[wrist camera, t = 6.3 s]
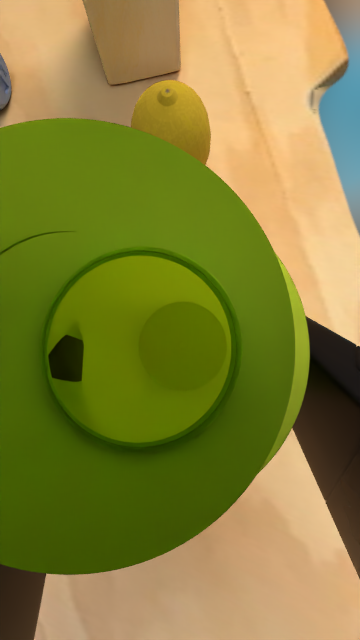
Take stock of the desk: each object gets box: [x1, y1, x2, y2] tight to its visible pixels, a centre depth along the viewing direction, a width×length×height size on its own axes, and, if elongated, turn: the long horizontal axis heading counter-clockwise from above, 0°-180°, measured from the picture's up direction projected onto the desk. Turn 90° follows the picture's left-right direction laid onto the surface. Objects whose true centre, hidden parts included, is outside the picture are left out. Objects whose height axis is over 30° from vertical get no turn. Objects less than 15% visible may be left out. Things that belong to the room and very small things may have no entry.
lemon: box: [131, 80, 211, 165], centre depth 19 cm, size 6×6×8 cm
